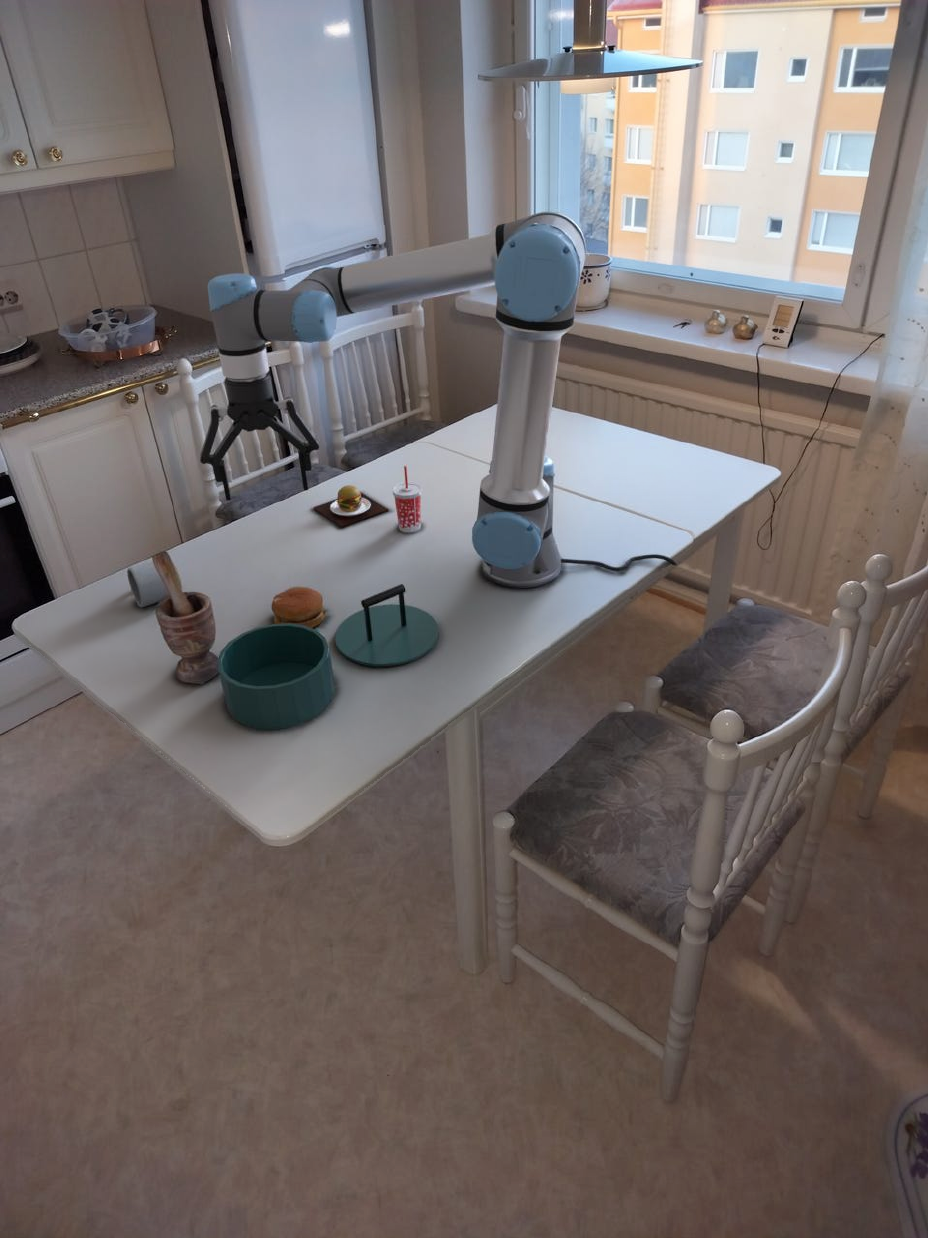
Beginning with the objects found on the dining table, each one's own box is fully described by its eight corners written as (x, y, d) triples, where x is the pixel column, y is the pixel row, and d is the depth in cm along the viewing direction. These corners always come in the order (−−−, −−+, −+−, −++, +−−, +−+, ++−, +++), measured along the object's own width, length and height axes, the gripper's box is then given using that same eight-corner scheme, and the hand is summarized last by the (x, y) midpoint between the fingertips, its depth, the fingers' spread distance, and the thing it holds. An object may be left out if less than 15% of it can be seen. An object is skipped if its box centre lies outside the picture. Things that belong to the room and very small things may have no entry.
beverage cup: (415, 517, 188) (410, 457, 180) (429, 528, 184) (425, 467, 176) (390, 526, 185) (384, 465, 177) (404, 537, 181) (399, 475, 173)
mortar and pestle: (150, 669, 146) (120, 566, 134) (190, 643, 151) (164, 543, 140) (196, 692, 140) (168, 587, 129) (236, 665, 146) (213, 562, 135)
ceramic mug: (187, 599, 163) (178, 563, 159) (145, 614, 160) (134, 578, 155) (168, 577, 171) (158, 543, 167) (126, 591, 167) (116, 556, 163)
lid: (460, 641, 149) (458, 595, 144) (371, 683, 140) (365, 636, 135) (401, 598, 161) (398, 554, 156) (317, 634, 153) (309, 589, 147)
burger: (330, 626, 154) (327, 604, 152) (278, 637, 152) (274, 615, 149) (319, 598, 162) (316, 577, 160) (270, 609, 160) (265, 587, 157)
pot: (354, 699, 137) (348, 658, 133) (256, 745, 129) (247, 704, 125) (302, 650, 149) (296, 611, 144) (209, 690, 140) (199, 650, 136)
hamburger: (341, 528, 185) (338, 505, 182) (313, 509, 193) (310, 486, 190) (388, 511, 191) (386, 488, 188) (359, 493, 199) (356, 471, 196)
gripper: (320, 360, 148) (334, 474, 160) (169, 376, 144) (196, 492, 156) (324, 374, 142) (339, 491, 154) (167, 390, 138) (195, 510, 150)
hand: (267, 492), depth 155 cm, fingers open, 13 cm apart
